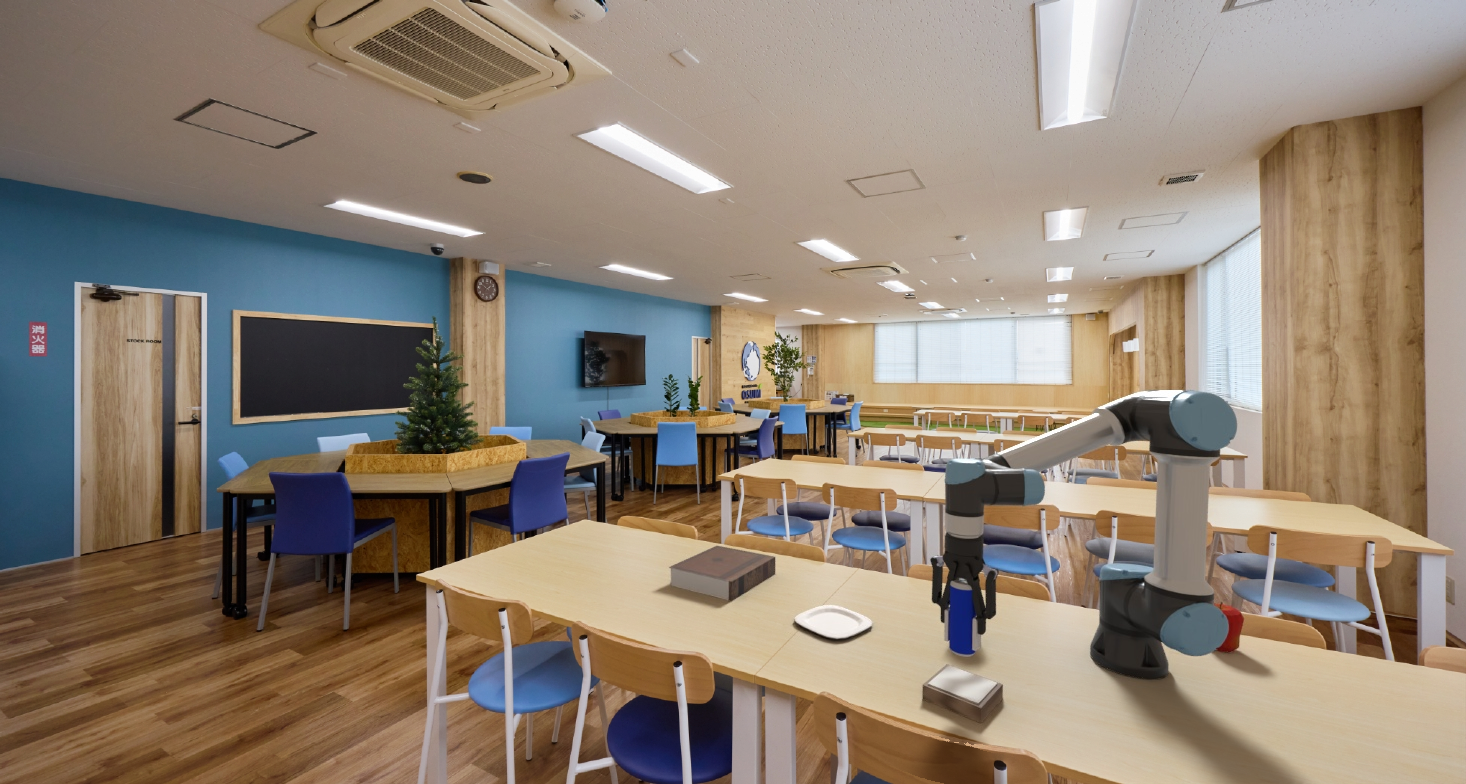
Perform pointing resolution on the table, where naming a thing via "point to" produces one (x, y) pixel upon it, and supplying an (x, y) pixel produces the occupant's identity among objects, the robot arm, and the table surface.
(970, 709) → the stand
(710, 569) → the book
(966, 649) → the beverage can
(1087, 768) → the table surface
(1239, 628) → the apple
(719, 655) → the table surface
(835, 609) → the plate
